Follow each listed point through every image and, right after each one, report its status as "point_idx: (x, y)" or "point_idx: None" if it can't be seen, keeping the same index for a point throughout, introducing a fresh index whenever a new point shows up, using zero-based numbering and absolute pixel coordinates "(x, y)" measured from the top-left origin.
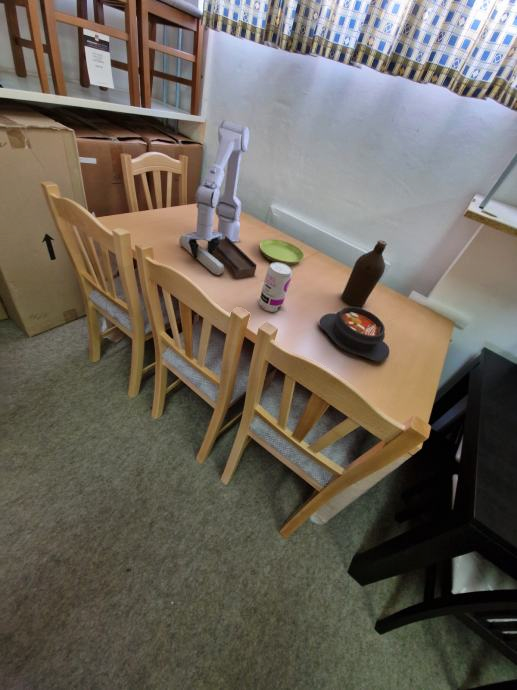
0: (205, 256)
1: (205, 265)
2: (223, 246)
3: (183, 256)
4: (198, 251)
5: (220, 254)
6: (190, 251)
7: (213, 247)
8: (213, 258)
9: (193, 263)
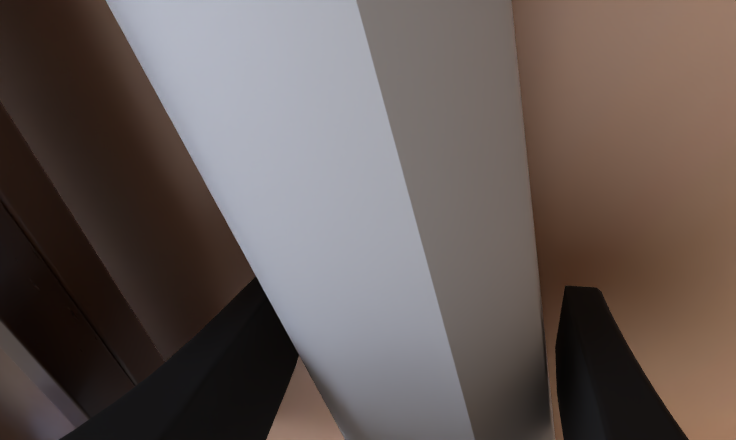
0: (453, 234)
1: (512, 12)
2: (28, 397)
3: (653, 384)
4: (506, 415)
5: (71, 254)
6: (554, 435)
7: (149, 434)
8: (236, 48)
9: (628, 218)
